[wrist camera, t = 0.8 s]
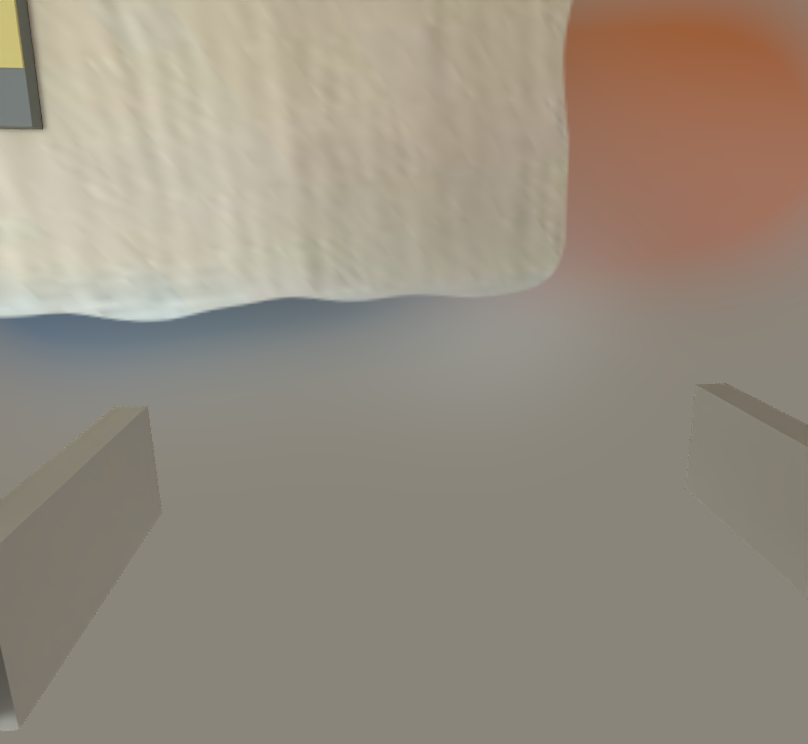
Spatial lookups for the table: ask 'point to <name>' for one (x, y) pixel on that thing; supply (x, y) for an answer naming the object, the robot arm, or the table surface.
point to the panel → (20, 84)
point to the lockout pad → (10, 36)
